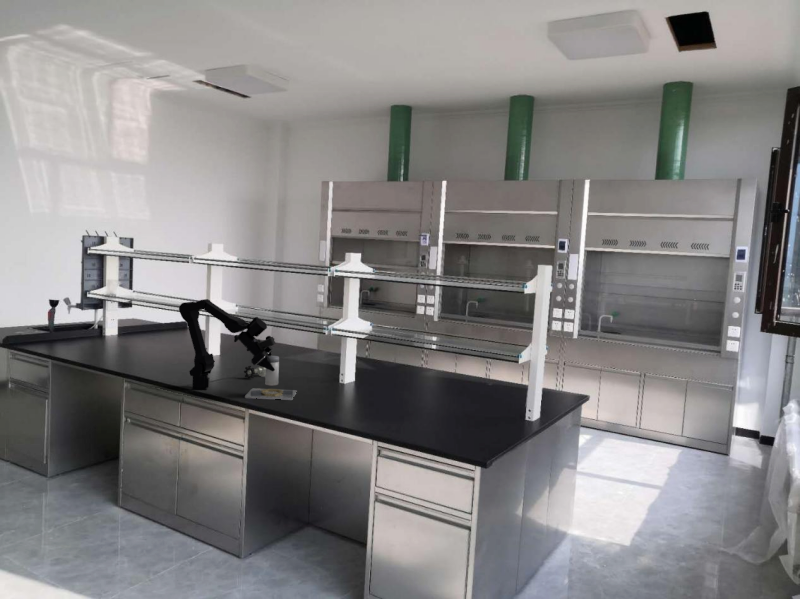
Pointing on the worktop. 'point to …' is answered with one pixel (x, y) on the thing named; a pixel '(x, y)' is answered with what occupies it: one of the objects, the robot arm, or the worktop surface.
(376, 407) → the worktop surface
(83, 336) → the worktop surface
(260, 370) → the valve
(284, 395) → the shaft mount
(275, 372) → the domed cap cylinder
